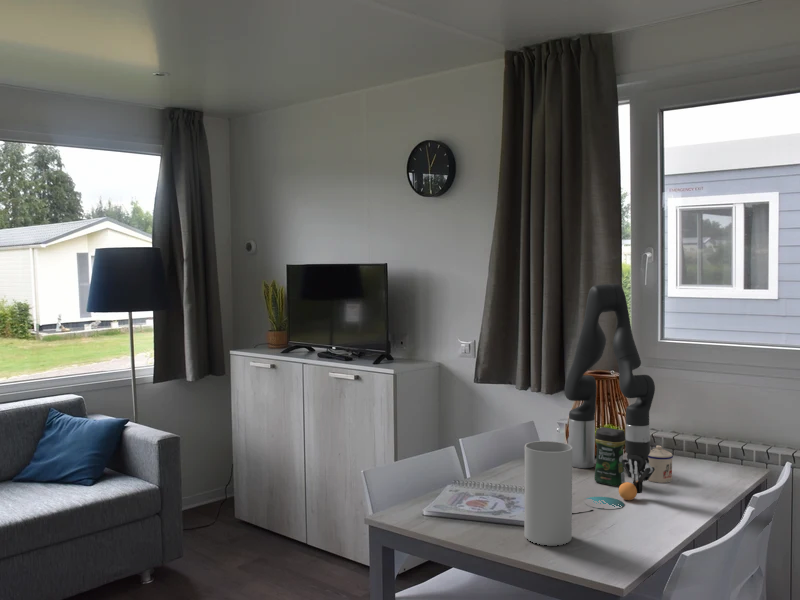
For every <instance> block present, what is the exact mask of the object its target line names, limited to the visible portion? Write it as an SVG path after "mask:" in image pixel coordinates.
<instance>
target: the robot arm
mask: <svg viewBox="0 0 800 600" xmlns="http://www.w3.org/2000/svg"><path fill="white" fill-rule="evenodd" d="M587 294H588V295H587V299H586V305H585V306H586V307H585V311H584V317H583V322H582V326H581V330H580V334H579V337H578V341H577V344H576V349H575V353H574V357H573V361H572V364H571V366H570V369H569V371H568V374H567V376H566V379H565V381H564V383H565V384H564V395H565V397H566V399H567V400H569V401H573V402H582V403H581V404H580V405H579V406H577V407H575V408H573V409H571V410H570V411H569V412H568V437H567V444H568V445H570V446H572V468H578V469H591V468H594V467H595V460H596V459H595V452H596V451H595V450H596V449H595V447H596V446H595V445H596V442H595V436H596V425H595V424H596V420H595V419H596V411H597V408H596V407H597V389H598V388H597V381H596V379H595V377H594V376H593V375H584V374H586V373H587V371H588V370H590V369H591V368H592V367H594V365H596V364H597V363H598V362H599V361H601V358H602V357H603V354H604V350H605V348H606V344H607V338H606V334H605V332H604V330H603V329H602V327H601V325H600V323H599V320H600V316H601V314H603V313H609V312H611V313H612V312H614V314H615V316H616V319H617V320H616V322H617V323H616V328H615V332H614V335H613V341H612V348H613V349H612V350H613V354H614V356H615V359H616V362H617V365H618V380H619V383H618V385H619V390H620V392H621V394H622V395H623V396H624V397H625V398H627V399H636V401H635V402H634V403H632V404H629V405H628V406H627V407H626V409H625V429H624V433H625V445H624V446H625V447H624V450H625V451H624V452H625V453H626V458H625V459H624V458H623V459H624V460H622V464H623V466H624V471H625V473H626V475H627V477H628V478H631V480H632V484H633V485H634V486H635V487H636V489H637V495H639V494H642V493H643V487H644V486H643V483H644V482H646V481H649V480H648V479H649V478H650V476H651V475H652V473H653V472H654V470H655V469H654V467H651V466H650V465H649V459H648V455H649V454H650V450H651V427H650V412H651V411H650V410H651V407H652V403H653V401H654V400H653V399H654V396H655V391H656V386H655V385H656V384H655V382H654V379H653V378H652V377H651V376H650V375H648V374H637V375H636V374H635V375H634V374H633V371H635V370H636V369H638V368H640V366H641V364H642V361H641V357H640V354H639V352H638V348H637V345H636V343H635V340H634V335H633V332H632V331H633V330H632V324H631V319H630V314H629V312H630V311H629V309H628V308H629V307H628V302H627V297H626V294H625V291H624V289H623V287H622V286H621V285H620V284H619V283H605V284H597V285H596V284H595V285H592V287H591V288H590V289H589V291H588V293H587Z"/></svg>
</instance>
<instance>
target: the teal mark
mask: <svg viewBox="0 0 800 600" xmlns="http://www.w3.org/2000/svg"><path fill="white" fill-rule="evenodd" d="M586 499H592V500H594V501H597V502H598V501H599V500H600V501H601V500H604V501H605V502H606V503H608V504H609V505H612V504H614V505H616V506H619V507H621V506H623V507H625V503H624V501H622V500H620V499H617V498H613V497H608V496H592V497H587V498H586ZM594 501H593V502H594ZM601 502H602V503H603V504H606V503H604V502H603V501H601ZM594 503H595V502H594ZM598 503H599V502H598ZM596 504H597V503H596ZM600 504H601V503H600ZM618 504H619V505H618ZM614 505H612V506H614ZM620 505H621V506H620ZM614 507H615V506H614Z"/></svg>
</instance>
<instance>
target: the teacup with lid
mask: <svg viewBox="0 0 800 600" xmlns="http://www.w3.org/2000/svg"><path fill="white" fill-rule="evenodd" d="M673 458H674V455H673V454H672V453H671V452H670V451H668V450H666V449H664V448H663V447H662V446H661V445H655V448H653V449H650V454H649V455H648V459H649V465H650V466H651V467H654V469H655V470H654V472H653V473H652V475H651V476H650V478H649V479H648V480H647V481H649V482H652V483H657V482H658V483H659V484H667V483H670V482H672V480H673ZM666 482H667V483H666Z"/></svg>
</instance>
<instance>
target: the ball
mask: <svg viewBox="0 0 800 600" xmlns="http://www.w3.org/2000/svg"><path fill="white" fill-rule="evenodd" d="M618 487H619V488H618V494H619V496H620V497H621V498H622V499H623V500H625V501H632V500H634V499H635V498H636V497H637V495H638V494H637V489H636V487H635V486H634V485H633V482H628V481H625V482H624V483H623V484H621V485H619V486H618Z"/></svg>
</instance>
